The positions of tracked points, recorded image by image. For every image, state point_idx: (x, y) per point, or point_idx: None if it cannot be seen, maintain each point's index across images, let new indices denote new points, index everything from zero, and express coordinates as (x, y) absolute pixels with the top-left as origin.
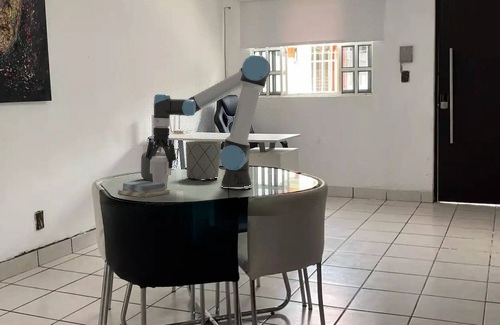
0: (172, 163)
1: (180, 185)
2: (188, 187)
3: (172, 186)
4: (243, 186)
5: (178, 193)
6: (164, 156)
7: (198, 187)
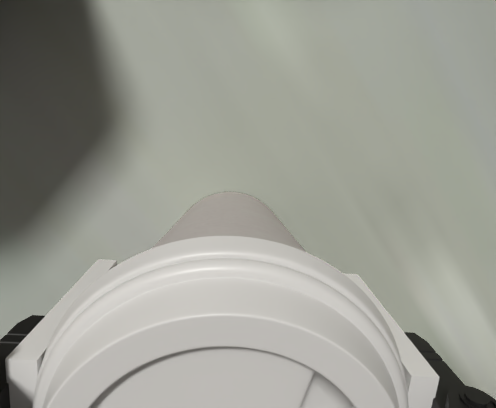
0: (457, 378)
1: (282, 8)
2: (401, 69)
3: (260, 113)
4: None
5: (471, 359)
6: (214, 343)
7: (475, 6)
